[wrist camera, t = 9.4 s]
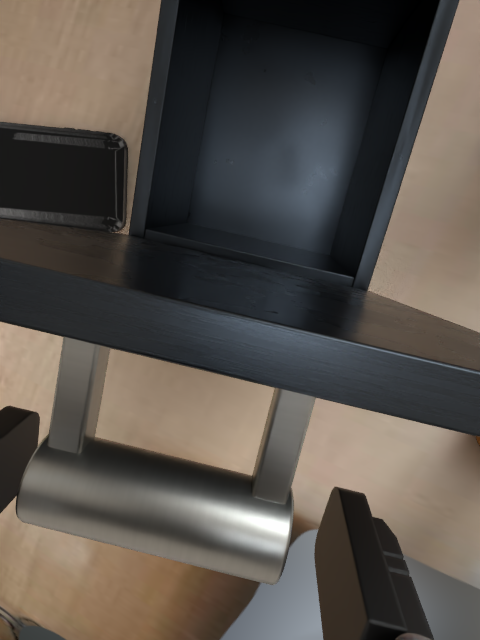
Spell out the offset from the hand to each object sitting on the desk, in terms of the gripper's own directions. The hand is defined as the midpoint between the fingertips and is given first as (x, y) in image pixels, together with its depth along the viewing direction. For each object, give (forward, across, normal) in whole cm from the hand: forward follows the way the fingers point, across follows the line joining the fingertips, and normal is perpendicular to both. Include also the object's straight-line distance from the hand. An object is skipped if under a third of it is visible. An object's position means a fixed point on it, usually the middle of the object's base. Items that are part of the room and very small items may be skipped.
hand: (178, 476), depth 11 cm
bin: (+25, 0, -12) cm, 28 cm away
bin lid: (+4, 0, -5) cm, 7 cm away
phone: (+26, +19, -6) cm, 33 cm away
